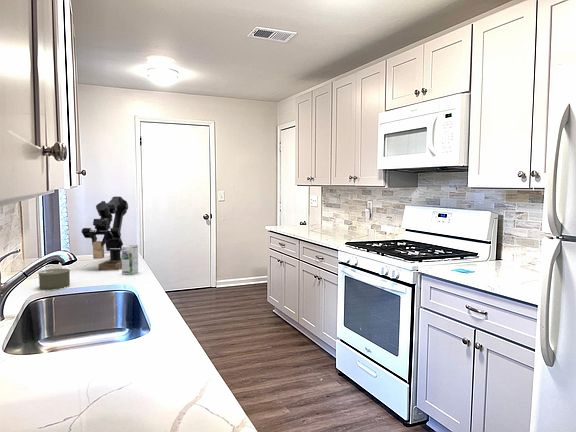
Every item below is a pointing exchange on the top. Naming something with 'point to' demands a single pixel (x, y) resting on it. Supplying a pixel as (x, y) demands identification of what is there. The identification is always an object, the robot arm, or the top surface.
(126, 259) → the syrup box
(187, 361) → the top surface
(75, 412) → the top surface
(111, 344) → the top surface
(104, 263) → the walnut collar stand
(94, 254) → the tan wooden block
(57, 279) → the can
